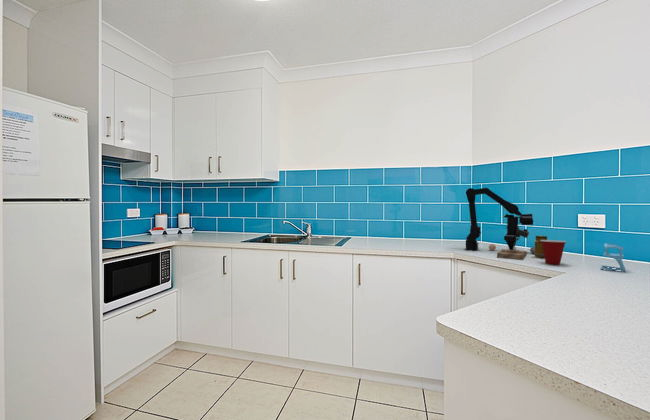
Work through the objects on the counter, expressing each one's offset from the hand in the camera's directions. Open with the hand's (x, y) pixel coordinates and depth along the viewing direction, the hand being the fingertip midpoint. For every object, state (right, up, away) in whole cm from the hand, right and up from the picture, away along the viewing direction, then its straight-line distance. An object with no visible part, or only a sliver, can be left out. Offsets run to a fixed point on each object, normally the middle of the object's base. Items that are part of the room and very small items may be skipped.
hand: (512, 250), depth 186 cm
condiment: (+5, -2, -19) cm, 19 cm away
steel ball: (0, +1, 0) cm, 1 cm away
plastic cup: (0, -2, -33) cm, 33 cm away
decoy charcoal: (+8, +1, -7) cm, 11 cm away
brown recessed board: (-9, -2, -14) cm, 16 cm away
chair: (+16, -3, -48) cm, 51 cm away
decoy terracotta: (-9, +1, +7) cm, 11 cm away
